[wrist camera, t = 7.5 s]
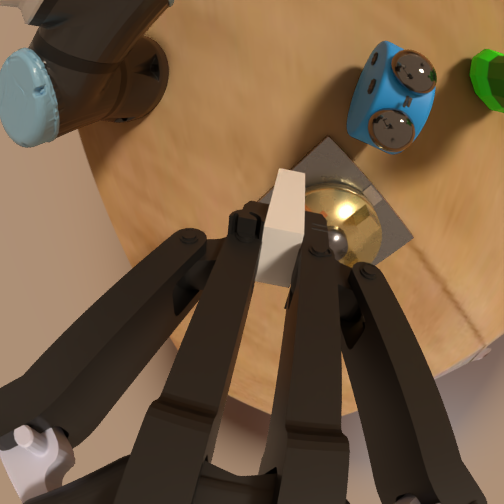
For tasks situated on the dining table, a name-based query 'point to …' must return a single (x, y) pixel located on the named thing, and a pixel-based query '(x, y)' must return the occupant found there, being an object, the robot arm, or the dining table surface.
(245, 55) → the dining table surface
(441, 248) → the dining table surface
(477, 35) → the dining table surface
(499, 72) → the plastic bottle
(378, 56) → the alarm clock
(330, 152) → the spindle plate
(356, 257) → the notched brass disc
